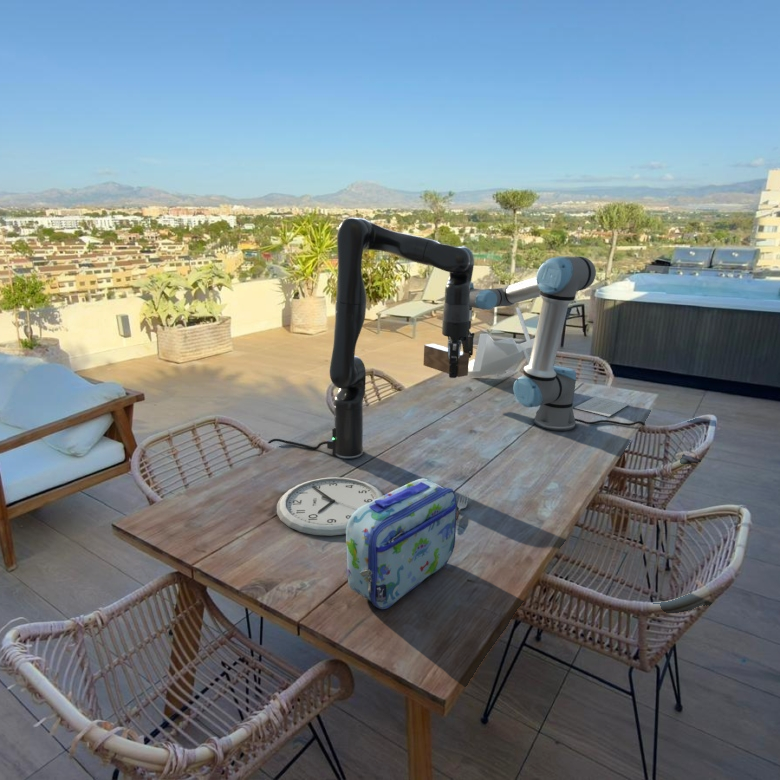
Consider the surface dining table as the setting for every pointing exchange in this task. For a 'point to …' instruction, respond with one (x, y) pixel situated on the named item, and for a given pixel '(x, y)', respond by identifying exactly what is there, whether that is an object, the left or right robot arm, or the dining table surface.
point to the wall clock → (324, 504)
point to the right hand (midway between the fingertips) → (459, 372)
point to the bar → (444, 359)
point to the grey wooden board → (601, 406)
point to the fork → (461, 506)
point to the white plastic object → (499, 353)
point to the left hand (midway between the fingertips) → (452, 373)
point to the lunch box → (400, 540)
